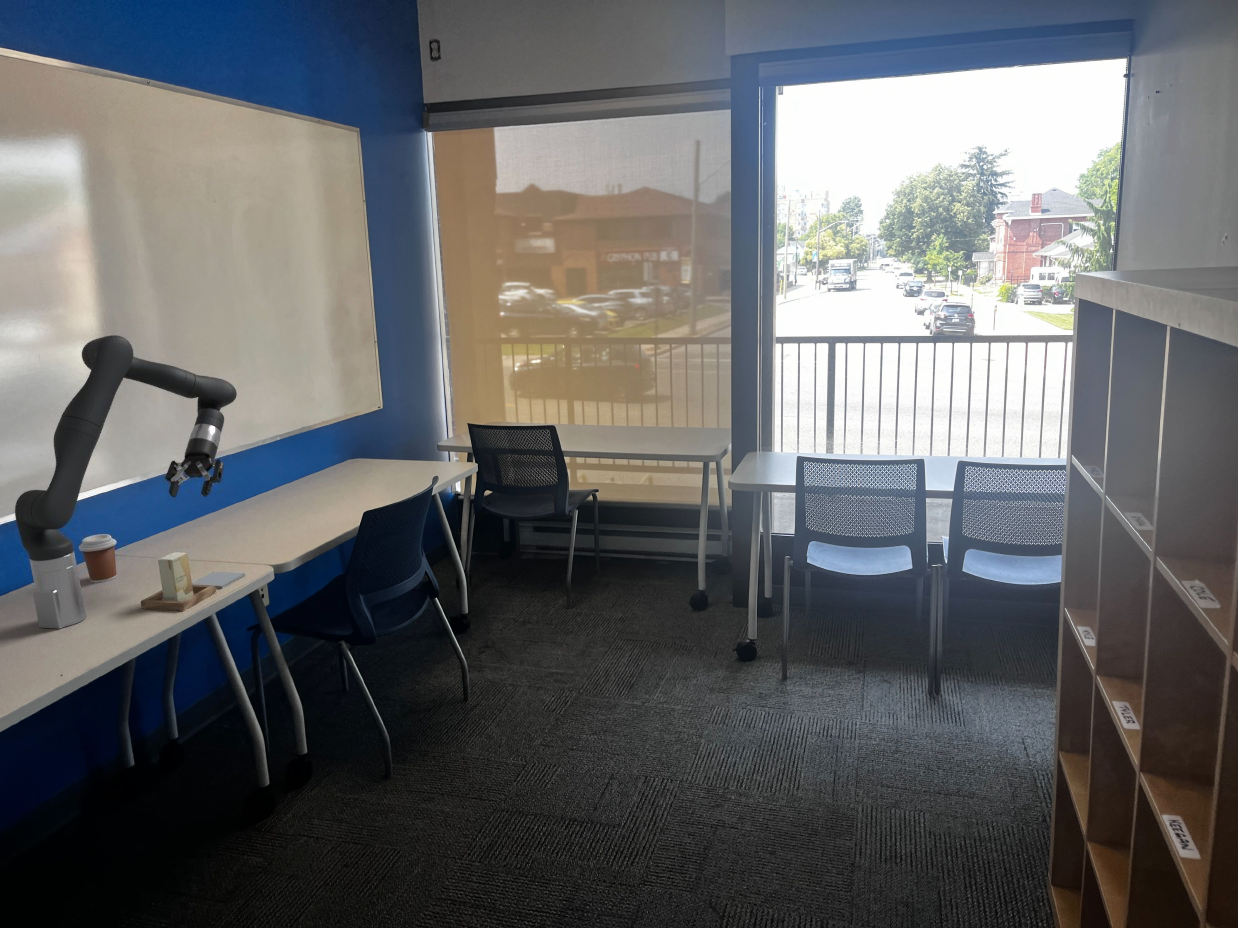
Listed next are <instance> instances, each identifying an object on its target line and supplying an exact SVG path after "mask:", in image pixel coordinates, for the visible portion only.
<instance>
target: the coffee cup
mask: <svg viewBox="0 0 1238 928" xmlns="http://www.w3.org/2000/svg"><path fill="white" fill-rule="evenodd" d="M81 542H82V543H80V544H79V546H78V550H79V551H80V552H82V555H83V558H84V561H85V565H86V569H87V572H88V576H89V581H90V582H91V583H93V584H97V583H99V582H100V583H106V582H109V580H110V581H113V580H115V579H116V578H117V577H118V575H117V574H118V572H117V564H116V563H117V562H116V552H115V550H116V549H115V546H116V545H117V543H118V542H117V540H116V539H115V538H113V537H112V536H111V535H110V534H108V533H107V534H106V533H103V534H101V533H100V534H93V535H90V536H87V537H85V538H83V539H82V540H81ZM116 576H117V577H116ZM114 578H115V579H114ZM112 579H113V580H112ZM105 581H106V582H105ZM100 583H99V584H100Z"/></svg>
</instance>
